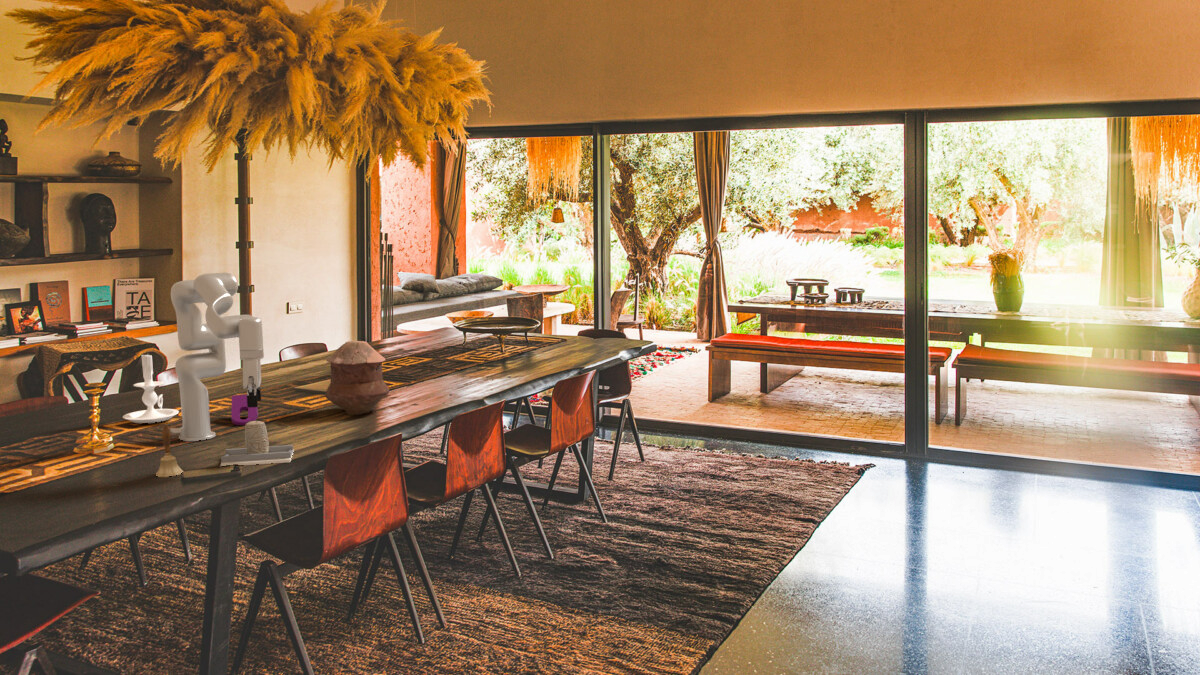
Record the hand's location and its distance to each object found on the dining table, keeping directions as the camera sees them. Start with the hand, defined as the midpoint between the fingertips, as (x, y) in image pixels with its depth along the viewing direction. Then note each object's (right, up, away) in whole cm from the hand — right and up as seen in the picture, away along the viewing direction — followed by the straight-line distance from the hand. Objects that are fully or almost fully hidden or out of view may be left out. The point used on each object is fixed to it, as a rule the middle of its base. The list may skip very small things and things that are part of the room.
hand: (254, 404), depth 316 cm
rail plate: (+1, -19, +2) cm, 19 cm away
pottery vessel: (+15, -9, +76) cm, 78 cm away
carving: (0, -18, +2) cm, 18 cm away
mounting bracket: (-27, -12, +62) cm, 68 cm away
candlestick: (-65, -12, +64) cm, 92 cm away
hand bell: (-22, -22, -14) cm, 34 cm away
